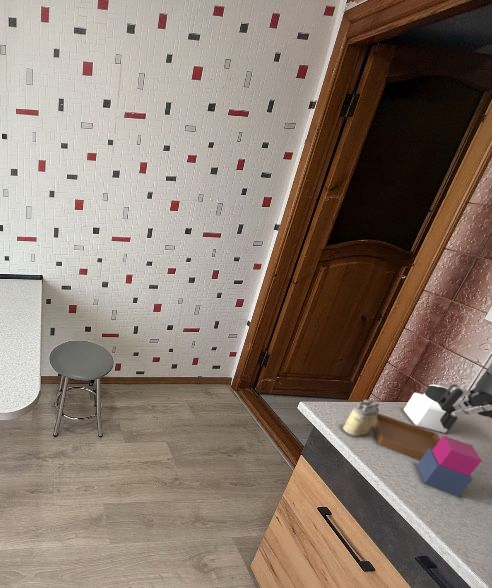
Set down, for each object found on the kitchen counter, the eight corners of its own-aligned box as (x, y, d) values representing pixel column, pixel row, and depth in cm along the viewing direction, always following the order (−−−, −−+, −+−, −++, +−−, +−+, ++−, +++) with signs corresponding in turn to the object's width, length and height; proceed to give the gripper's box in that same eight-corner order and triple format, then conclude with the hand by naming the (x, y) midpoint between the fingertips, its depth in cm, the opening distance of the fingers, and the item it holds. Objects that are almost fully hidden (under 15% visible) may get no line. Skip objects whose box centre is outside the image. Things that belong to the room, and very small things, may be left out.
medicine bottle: (445, 433, 95) (469, 401, 90) (415, 426, 97) (437, 393, 92) (430, 416, 101) (451, 385, 96) (402, 409, 103) (421, 378, 98)
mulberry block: (460, 460, 78) (471, 445, 76) (469, 476, 74) (482, 460, 72) (432, 450, 80) (442, 435, 78) (439, 465, 76) (451, 449, 74)
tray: (433, 438, 92) (436, 433, 92) (449, 470, 83) (454, 465, 82) (370, 416, 99) (373, 411, 98) (378, 444, 89) (382, 438, 88)
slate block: (448, 477, 81) (462, 460, 78) (458, 496, 76) (473, 479, 74) (416, 465, 84) (428, 448, 81) (424, 483, 79) (437, 465, 76)
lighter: (357, 423, 95) (373, 396, 91) (371, 434, 92) (388, 406, 88) (339, 427, 94) (354, 400, 89) (352, 438, 90) (368, 410, 86)
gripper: (555, 381, 67) (506, 439, 74) (460, 356, 73) (423, 411, 80) (581, 402, 61) (525, 463, 68) (475, 373, 67) (433, 431, 74)
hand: (470, 435), depth 74 cm, fingers open, 8 cm apart
